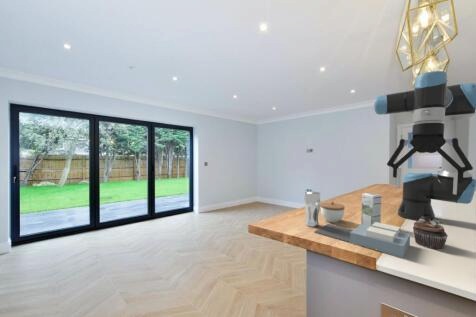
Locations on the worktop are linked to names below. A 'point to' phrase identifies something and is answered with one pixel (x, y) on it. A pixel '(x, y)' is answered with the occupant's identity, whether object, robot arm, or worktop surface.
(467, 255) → the worktop surface
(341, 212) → the lidded jar
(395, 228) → the rear tile
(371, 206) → the syrup box
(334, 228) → the mat
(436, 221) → the cupcake
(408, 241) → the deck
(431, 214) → the robot arm
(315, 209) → the beer glass
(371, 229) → the front tile
